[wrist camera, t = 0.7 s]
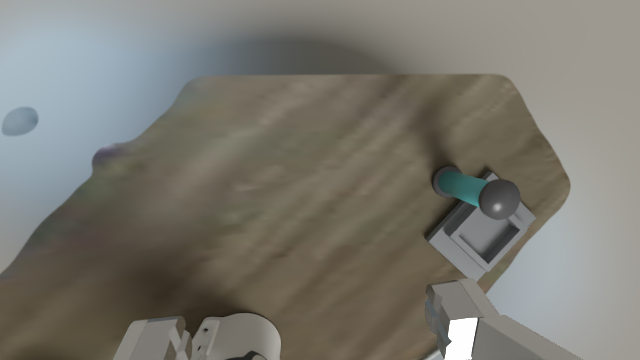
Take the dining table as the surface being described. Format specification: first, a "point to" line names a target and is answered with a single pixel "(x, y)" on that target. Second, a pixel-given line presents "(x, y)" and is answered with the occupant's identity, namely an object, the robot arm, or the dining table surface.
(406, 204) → the dining table surface
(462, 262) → the board
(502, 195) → the teal and grey rod
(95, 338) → the dining table surface
